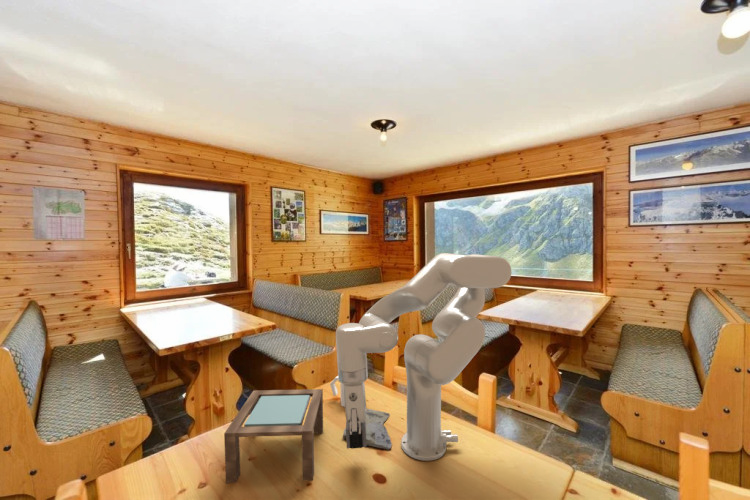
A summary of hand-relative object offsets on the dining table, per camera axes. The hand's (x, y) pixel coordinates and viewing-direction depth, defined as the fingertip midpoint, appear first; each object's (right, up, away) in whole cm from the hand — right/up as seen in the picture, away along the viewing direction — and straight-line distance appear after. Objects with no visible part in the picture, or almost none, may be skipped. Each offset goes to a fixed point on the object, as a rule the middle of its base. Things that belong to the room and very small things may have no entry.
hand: (356, 439), depth 85 cm
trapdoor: (-21, +5, +4) cm, 22 cm away
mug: (-5, -5, +32) cm, 33 cm away
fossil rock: (+3, -7, +16) cm, 18 cm away
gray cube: (0, -1, 0) cm, 1 cm away
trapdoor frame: (-21, -7, +5) cm, 23 cm away
